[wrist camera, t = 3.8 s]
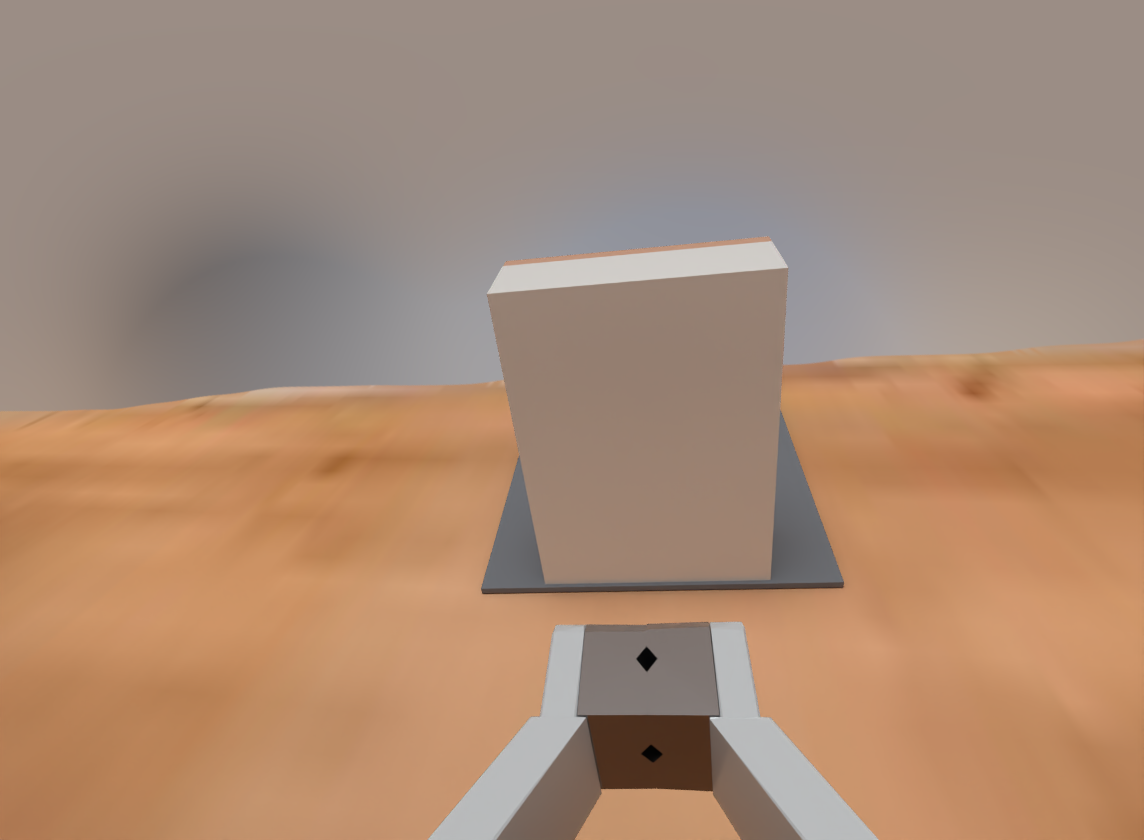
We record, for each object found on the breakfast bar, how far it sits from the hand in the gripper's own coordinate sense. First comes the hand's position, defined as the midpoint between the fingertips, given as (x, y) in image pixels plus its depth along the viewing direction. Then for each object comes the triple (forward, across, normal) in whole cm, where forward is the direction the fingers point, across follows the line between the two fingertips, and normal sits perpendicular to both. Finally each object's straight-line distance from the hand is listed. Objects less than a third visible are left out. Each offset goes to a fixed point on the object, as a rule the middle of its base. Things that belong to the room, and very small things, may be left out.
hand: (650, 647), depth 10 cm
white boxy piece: (+15, 0, +12) cm, 20 cm away
